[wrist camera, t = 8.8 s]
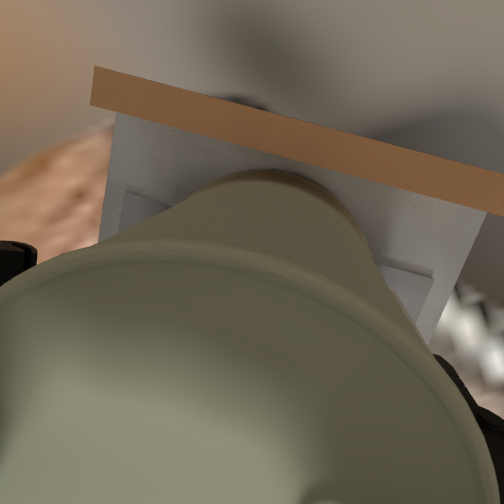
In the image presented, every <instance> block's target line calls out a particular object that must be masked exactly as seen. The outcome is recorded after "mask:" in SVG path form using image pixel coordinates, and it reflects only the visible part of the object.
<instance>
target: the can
mask: <svg viewBox="0 0 504 504" xmlns="http://www.w3.org/2000/svg"><path fill="white" fill-rule="evenodd" d="M0 504H500V497H499V488H498V483H497V478H496V473H495V469H494V466H493V462H492V459H491V456H490V453H489V450H488V447H487V444H486V441H485V438H484V436H483V434H482V432H481V430H480V428H479V426H478V424H477V422H476V420H475V418H474V416H473V414H472V412H471V410H470V408H469V406H468V404H467V402H466V400H465V399H464V397H463V396H462V394H461V393H460V391H459V389H458V388H457V386H456V385H455V383H454V382H453V381H452V380H451V378H450V377H449V376H448V374H447V373H446V372H445V370H444V369H443V368H442V367H441V365H440V364H439V363H438V362H437V361H436V359H435V358H434V357H433V356H432V355H431V354H430V353H429V351H428V350H427V349H426V347H425V346H424V344H423V343H422V341H421V339H420V338H419V336H418V334H417V333H416V331H415V330H414V328H413V326H412V325H411V323H410V321H409V320H408V318H407V317H406V315H405V313H404V312H403V310H402V308H401V307H400V305H399V304H398V302H397V300H396V299H395V297H394V295H393V294H392V292H391V290H390V289H389V287H388V285H387V283H386V282H385V280H384V278H383V276H382V275H381V273H380V271H379V270H378V268H377V266H376V264H375V263H374V261H373V259H372V257H371V256H370V251H369V248H368V245H367V242H366V239H365V236H364V234H363V232H362V230H361V228H360V226H359V225H358V223H357V221H356V220H355V218H354V217H353V216H352V214H351V213H350V212H349V210H348V209H347V208H346V207H345V206H344V205H343V204H342V203H341V202H340V201H339V200H338V199H337V198H336V197H335V196H333V195H332V194H331V193H330V192H328V191H327V190H325V189H324V188H322V187H321V186H319V185H317V184H316V183H314V182H312V181H310V180H308V179H305V178H303V177H300V176H297V175H294V174H290V173H286V172H281V171H274V170H249V171H242V172H237V173H233V174H229V175H226V176H224V177H221V178H218V179H216V180H214V181H212V182H210V183H208V184H206V185H205V186H203V187H202V188H200V189H199V190H197V191H196V192H195V193H194V194H192V195H191V196H190V197H189V198H188V199H187V200H185V201H183V202H181V203H179V204H177V205H175V206H173V207H171V208H169V209H168V210H166V211H164V212H162V213H159V214H157V215H155V216H153V217H151V218H149V219H147V220H145V221H143V222H141V223H139V224H137V225H134V226H132V227H130V228H128V229H126V230H124V231H122V232H120V233H118V234H116V235H114V236H111V237H109V238H107V239H105V240H103V241H101V242H99V243H97V244H95V245H92V246H90V247H86V248H82V249H78V250H75V251H71V252H68V253H65V254H62V255H59V256H56V257H54V258H51V259H49V260H47V261H45V262H42V263H40V264H38V265H36V266H33V267H32V268H30V269H28V270H26V271H24V272H23V273H21V274H19V275H17V276H16V277H14V278H12V279H11V280H9V281H8V282H6V283H5V284H3V285H2V286H1V287H0Z"/></svg>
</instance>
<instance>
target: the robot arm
mask: <svg viewBox="0 0 504 504" xmlns="http://www.w3.org/2000/svg"><path fill="white" fill-rule="evenodd" d="M61 255H62V254H61ZM36 263H37V249H35V248H34V247H33V246H31V245H28V244H25V243H21V242H15V241H0V287H1V286H2V285H3V284H5V283H6V282H8V281H9V280H11V279H12V278H14V277H16V276H17V275H19V274H21V273H23V272H24V271H26V270H28V269H30V268H32V267H33V266H36ZM390 290H391V289H390ZM391 292H392V294H393V295H394V297H395V299H396V300H397V302H398V304H399V305H400V307H401V308H402V310H403V312H404V313H405V315H406V317H407V318H408V320H409V321H410V323H411V325H412V326H413V328H414V330H415V331H416V333H417V334H418V336H419V338H420V339H421V341H422V343H423V344H424V346H425V347H426V349H427V350H428V351H429V353H430V354H431V355H432V356H433V357H434V358H435V359H436V361H437V362H438V363H439V364H440V365H441V367H442V368H443V369H444V370H445V372H446V373H447V374H448V376H449V377H450V378H451V380H452V381H453V382H454V383H455V385H456V386H457V388H458V389H459V391H460V393H461V394H462V396H463V397H464V399H465V400H466V402H467V404H468V406H469V408H470V410H471V412H472V414H473V416H474V418H475V420H476V422H477V424H478V426H479V428H480V430H481V432H482V434H483V436H484V438H485V441H486V444H487V447H488V450H489V453H490V456H491V459H492V462H493V466H494V469H495V473H496V478H497V483H498V488H499V497H500V504H504V420H503V419H502V418H501V417H499V416H498V415H496V414H494V413H493V412H491V411H489V410H487V409H485V408H482V407H480V406H478V405H477V403H476V402H475V400H474V399H473V397H472V396H471V394H470V393H469V391H468V389H467V388H466V387H464V386H465V385H464V383H463V382H462V380H461V379H460V378H459V376H458V374H457V373H456V371H455V369H454V368H453V366H451V365H450V364H449V363H448V362H447V361H446V360H445V359H443V358H442V357H441V356H439V355H435V354H432V352H431V351H430V349H429V347H428V346H427V344H426V342H425V341H424V339H423V337H422V336H421V334H420V332H419V330H418V329H417V327H416V325H415V324H414V322H413V320H412V319H411V317H410V315H409V314H408V312H407V310H406V309H405V307H404V305H403V304H402V302H401V300H400V299H399V297H398V295H397V293H396V292H395V290H391Z"/></svg>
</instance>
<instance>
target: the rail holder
mask: <svg viewBox="0 0 504 504" xmlns="http://www.w3.org/2000/svg"><path fill="white" fill-rule="evenodd" d="M90 105H93V106H97V107H101V108H104V109H108V110H111V111H115V112H116V118H115V125H114V132H113V139H112V146H111V154H110V161H109V168H108V175H107V182H106V189H105V197H104V204H103V211H102V218H101V225H100V232H99V239H98V243H99V242H101V241H103V240H105V239H107V238H109V237H111V236H114V235H116V234H118V233H120V232H122V231H124V230H126V229H128V228H130V227H132V226H134V225H137V224H139V223H141V222H143V221H145V220H147V219H149V218H151V217H153V216H155V215H157V214H159V213H162V212H164V211H166V210H168V209H169V208H171V207H173V206H175V205H177V204H179V203H181V202H183V201H185V200H187V199H188V198H189V197H190V196H191V195H192V194H194V193H195V192H196V191H197V190H199V189H200V188H202V187H203V186H205V185H206V184H208V183H210V182H212V181H214V180H216V179H218V178H221V177H224V176H226V175H229V174H233V173H237V172H242V171H249V170H274V171H281V172H286V173H290V174H294V175H297V176H300V177H303V178H305V179H308V180H310V181H312V182H314V183H316V184H317V185H319V186H321V187H322V188H324V189H325V190H327V191H328V192H330V193H331V194H332V195H333V196H335V197H336V198H337V199H338V200H339V201H340V202H341V203H342V204H343V205H344V206H345V207H346V208H347V209H348V210H349V212H350V213H351V214H352V216H353V217H354V218H355V220H356V221H357V223H358V225H359V226H360V228H361V230H362V232H363V234H364V236H365V239H366V242H367V245H368V248H369V251H370V256H371V257H372V259H373V261H374V263H375V264H376V266H377V268H378V270H379V271H380V273H381V275H382V276H383V278H384V280H385V282H386V283H387V285H388V287H389V289H391V290H395V292H396V293H397V295H398V297H399V299H400V300H401V302H402V304H403V305H404V307H405V309H406V310H407V312H408V314H409V315H410V317H411V319H412V320H413V322H414V324H415V325H416V327H417V329H418V330H419V332H420V334H421V336H422V337H423V339H424V341H425V342H426V344H427V346H428V344H429V341H430V339H431V337H432V335H433V332H434V330H435V328H436V326H437V323H438V321H439V319H440V317H441V315H442V312H443V310H444V308H445V306H446V303H447V301H448V299H449V297H450V294H451V292H452V290H453V288H454V285H455V283H456V281H457V279H458V276H459V274H460V272H461V270H462V267H463V265H464V263H465V261H466V258H467V256H468V254H469V252H470V249H471V247H472V245H473V243H474V240H475V238H476V236H477V234H478V232H479V229H480V227H481V224H482V223H483V220H484V218H485V216H486V214H487V212H488V213H493V214H496V215H500V216H503V217H504V174H501V173H498V172H494V171H490V170H486V169H482V168H478V167H475V166H471V165H467V164H464V163H460V162H456V161H452V160H448V159H444V158H441V157H437V156H433V155H430V154H426V153H422V152H418V151H414V150H410V149H407V148H403V147H399V146H396V145H392V144H388V143H384V142H380V141H377V140H373V139H369V138H365V137H362V136H358V135H354V134H350V133H347V132H343V131H339V130H335V129H331V128H328V127H324V126H320V125H316V124H313V123H309V122H305V121H301V120H298V119H294V118H290V117H286V116H282V115H279V114H275V113H271V112H267V111H264V110H260V109H256V108H252V107H248V106H245V105H241V104H237V103H233V102H230V101H226V100H222V99H218V98H214V97H211V96H207V95H203V94H199V93H196V92H192V91H188V90H184V89H180V88H177V87H173V86H169V85H165V84H162V83H157V82H154V81H150V80H146V79H143V78H138V77H135V76H131V75H127V74H124V73H120V72H116V71H113V70H109V69H105V68H101V67H97V66H95V68H94V76H93V85H92V93H91V101H90Z"/></svg>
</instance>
